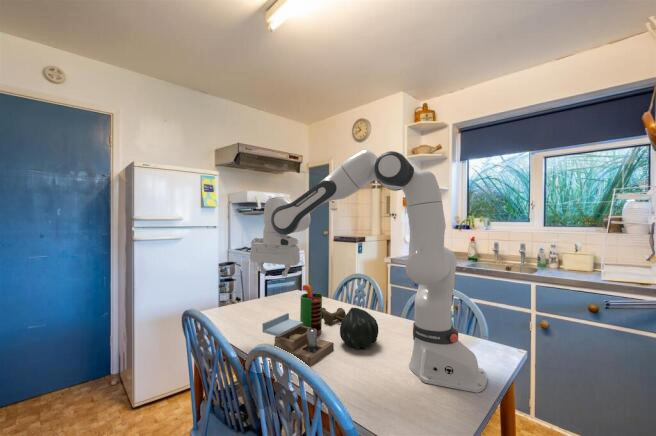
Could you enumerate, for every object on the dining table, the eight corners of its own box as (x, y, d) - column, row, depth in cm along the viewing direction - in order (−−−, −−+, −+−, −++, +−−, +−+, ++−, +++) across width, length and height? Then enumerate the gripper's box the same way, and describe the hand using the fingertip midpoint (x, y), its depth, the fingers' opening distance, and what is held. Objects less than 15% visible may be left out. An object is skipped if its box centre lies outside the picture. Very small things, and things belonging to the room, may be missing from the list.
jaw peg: (318, 354, 105) (318, 329, 105) (313, 358, 102) (313, 332, 102) (310, 352, 107) (310, 327, 107) (305, 356, 104) (305, 330, 104)
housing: (333, 349, 109) (333, 333, 109) (311, 365, 97) (311, 347, 97) (299, 339, 118) (299, 324, 118) (274, 353, 106) (274, 336, 106)
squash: (390, 328, 115) (366, 296, 120) (377, 344, 102) (350, 308, 107) (365, 346, 121) (342, 315, 125) (349, 364, 108) (325, 328, 112)
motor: (318, 339, 119) (318, 288, 118) (296, 337, 120) (296, 287, 120) (323, 329, 129) (323, 283, 128) (303, 327, 130) (303, 282, 130)
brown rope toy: (324, 313, 151) (352, 323, 136) (308, 318, 145) (336, 329, 130) (323, 302, 151) (351, 310, 136) (308, 306, 145) (335, 315, 130)
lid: (303, 324, 117) (303, 316, 117) (278, 336, 105) (278, 327, 105) (287, 320, 121) (287, 313, 121) (262, 332, 109) (262, 323, 109)
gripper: (247, 238, 115) (246, 273, 116) (294, 241, 108) (293, 279, 109) (256, 237, 121) (255, 270, 122) (302, 240, 114) (300, 276, 115)
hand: (273, 274), depth 115 cm, fingers open, 8 cm apart
